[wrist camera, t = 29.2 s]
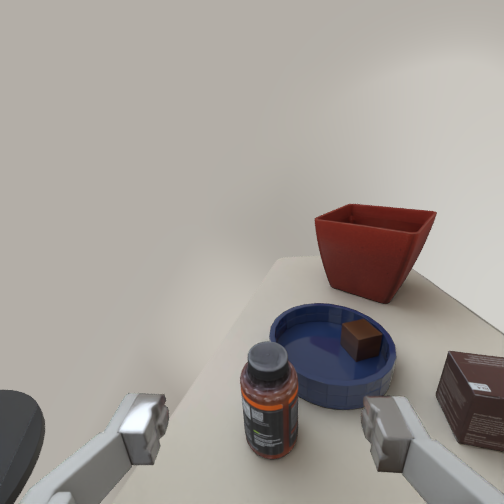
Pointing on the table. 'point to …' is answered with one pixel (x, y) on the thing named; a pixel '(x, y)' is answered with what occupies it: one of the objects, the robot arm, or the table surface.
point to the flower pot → (371, 247)
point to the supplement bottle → (270, 400)
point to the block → (360, 339)
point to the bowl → (332, 356)
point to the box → (474, 398)
